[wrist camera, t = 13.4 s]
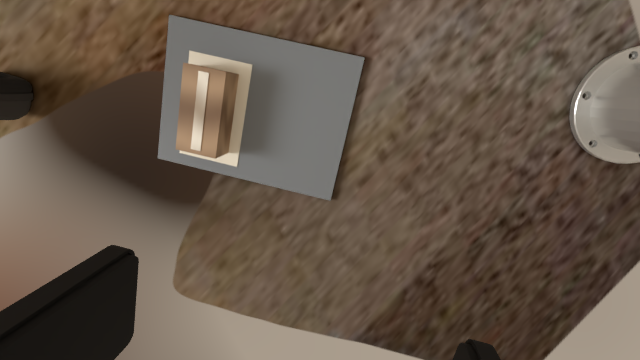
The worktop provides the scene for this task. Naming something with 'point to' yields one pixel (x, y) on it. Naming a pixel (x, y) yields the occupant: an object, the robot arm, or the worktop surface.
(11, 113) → the headphones
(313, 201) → the worktop surface
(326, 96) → the mat
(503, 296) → the worktop surface
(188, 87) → the block
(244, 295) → the worktop surface
